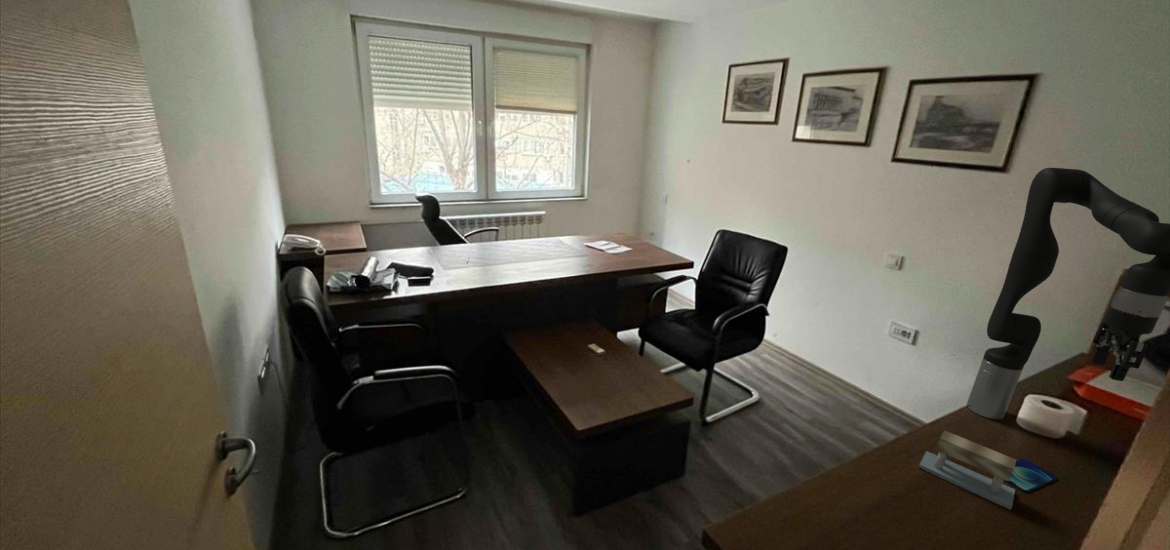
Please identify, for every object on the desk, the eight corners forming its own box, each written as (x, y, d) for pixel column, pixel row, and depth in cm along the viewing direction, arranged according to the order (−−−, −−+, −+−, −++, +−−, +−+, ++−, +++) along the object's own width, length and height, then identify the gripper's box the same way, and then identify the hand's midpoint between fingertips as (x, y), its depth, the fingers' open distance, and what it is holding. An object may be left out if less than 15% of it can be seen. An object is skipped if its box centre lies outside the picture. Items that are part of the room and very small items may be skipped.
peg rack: (918, 467, 117) (924, 448, 115) (925, 454, 122) (931, 435, 120) (1010, 510, 105) (1019, 489, 103) (1013, 492, 110) (1022, 472, 108)
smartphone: (1059, 477, 115) (1026, 491, 110) (1058, 480, 116) (1025, 494, 110) (1023, 458, 122) (990, 470, 116) (1022, 460, 122) (989, 473, 117)
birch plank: (1011, 471, 108) (1016, 459, 107) (1008, 481, 105) (1013, 469, 104) (940, 441, 118) (944, 430, 117) (936, 449, 115) (940, 438, 114)
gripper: (1097, 296, 111) (1071, 355, 116) (1129, 316, 99) (1099, 380, 104) (1139, 303, 108) (1112, 362, 113) (1179, 324, 96) (1145, 390, 101)
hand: (1106, 371), depth 109 cm, fingers open, 8 cm apart
